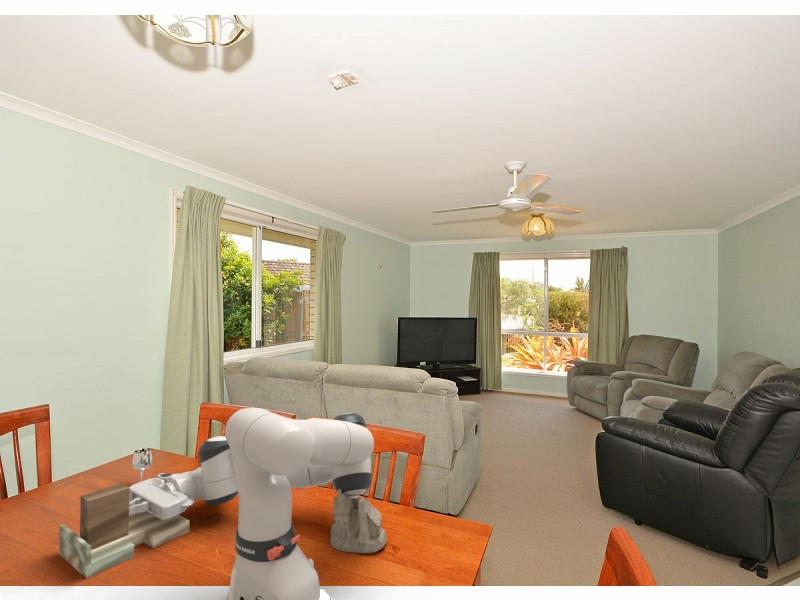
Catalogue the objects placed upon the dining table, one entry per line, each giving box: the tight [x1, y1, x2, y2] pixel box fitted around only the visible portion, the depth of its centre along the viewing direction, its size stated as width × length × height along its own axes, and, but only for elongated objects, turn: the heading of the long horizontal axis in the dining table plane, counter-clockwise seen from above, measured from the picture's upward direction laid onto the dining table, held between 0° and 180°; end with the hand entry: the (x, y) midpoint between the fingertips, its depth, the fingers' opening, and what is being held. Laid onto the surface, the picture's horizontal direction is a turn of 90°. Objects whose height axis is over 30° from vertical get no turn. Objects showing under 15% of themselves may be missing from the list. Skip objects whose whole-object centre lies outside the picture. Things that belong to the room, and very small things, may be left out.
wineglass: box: [131, 447, 153, 482], centre depth 143 cm, size 6×6×12 cm
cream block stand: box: [58, 511, 190, 580], centre depth 110 cm, size 16×24×7 cm, turn 146°
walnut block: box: [79, 483, 130, 550], centre depth 106 cm, size 4×9×12 cm, turn 146°
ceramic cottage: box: [329, 489, 387, 554], centre depth 115 cm, size 16×16×15 cm
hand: (124, 510), depth 110 cm, fingers closed
